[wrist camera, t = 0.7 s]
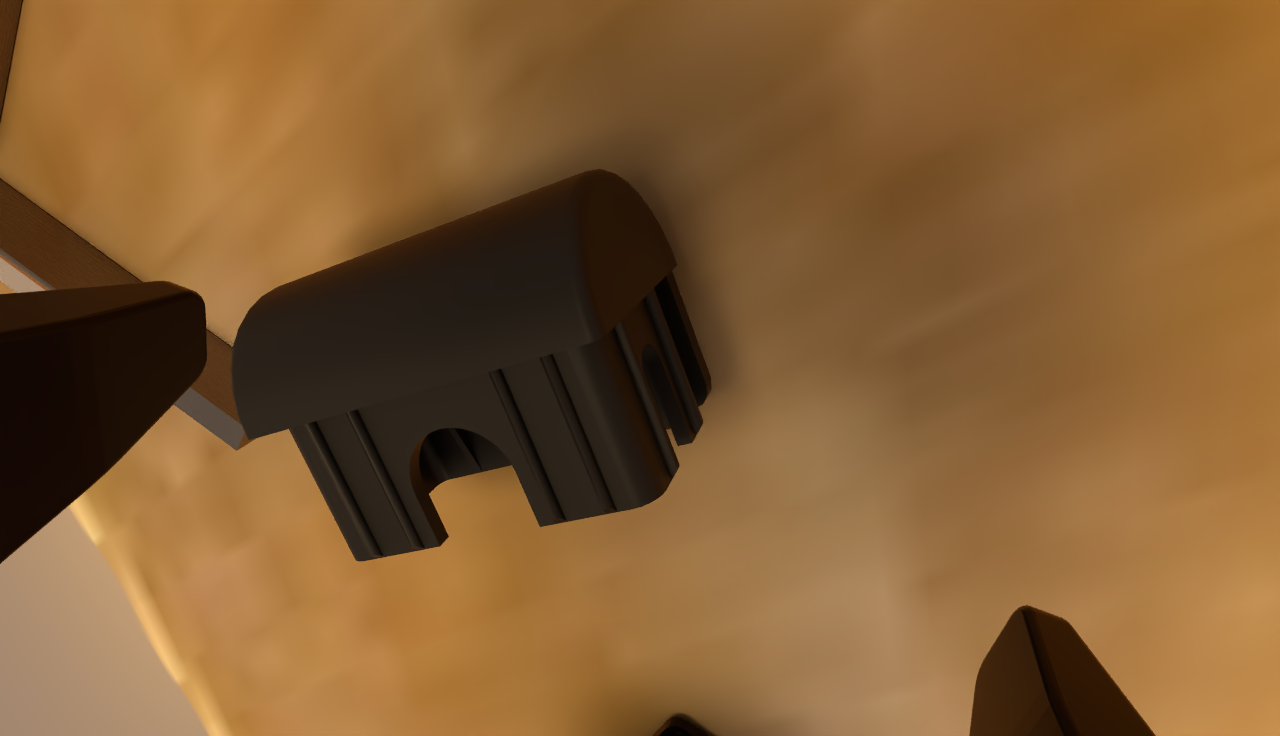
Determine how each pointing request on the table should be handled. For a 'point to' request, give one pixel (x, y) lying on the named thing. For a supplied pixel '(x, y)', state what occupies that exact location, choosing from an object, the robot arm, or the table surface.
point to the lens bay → (93, 273)
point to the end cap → (483, 364)
